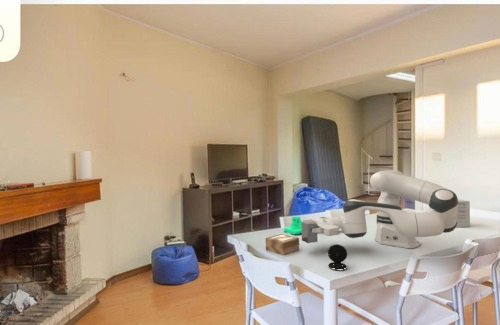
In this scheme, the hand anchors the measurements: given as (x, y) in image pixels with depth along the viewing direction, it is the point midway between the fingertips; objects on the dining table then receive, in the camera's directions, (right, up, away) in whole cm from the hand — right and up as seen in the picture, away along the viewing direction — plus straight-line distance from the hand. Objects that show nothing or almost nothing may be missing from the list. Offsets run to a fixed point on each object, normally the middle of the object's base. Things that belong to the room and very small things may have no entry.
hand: (307, 228), depth 148 cm
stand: (-12, -12, +6) cm, 18 cm away
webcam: (+9, -12, -19) cm, 25 cm away
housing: (+1, -6, 0) cm, 6 cm away
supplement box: (+109, -9, +51) cm, 121 cm away
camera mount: (-1, -12, +40) cm, 42 cm away
